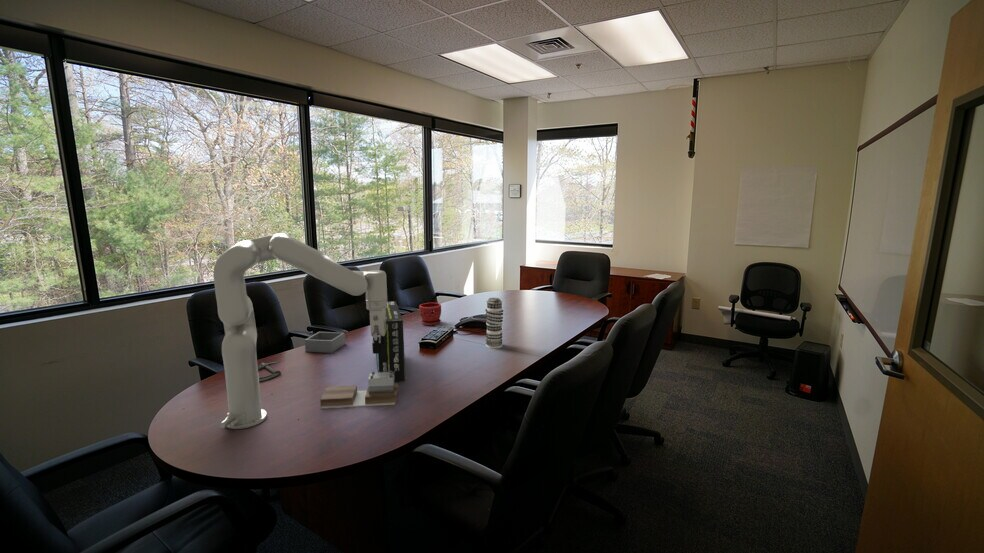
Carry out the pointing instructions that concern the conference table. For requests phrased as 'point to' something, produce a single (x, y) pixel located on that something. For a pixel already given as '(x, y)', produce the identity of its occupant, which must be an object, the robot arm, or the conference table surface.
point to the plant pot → (430, 313)
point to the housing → (381, 382)
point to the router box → (393, 344)
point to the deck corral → (324, 342)
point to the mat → (358, 401)
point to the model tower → (494, 323)
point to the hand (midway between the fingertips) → (378, 348)
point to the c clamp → (275, 373)
